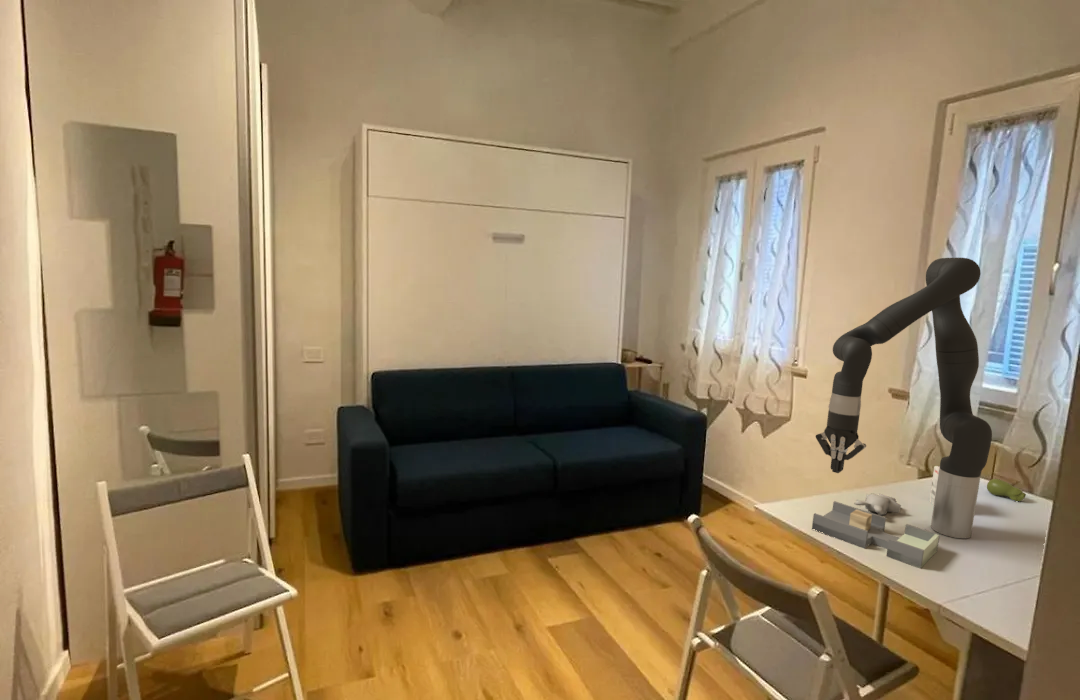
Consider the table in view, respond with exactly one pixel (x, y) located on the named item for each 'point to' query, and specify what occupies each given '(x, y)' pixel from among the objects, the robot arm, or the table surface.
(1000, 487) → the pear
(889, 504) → the bunny figurine
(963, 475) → the robot arm
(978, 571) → the table surface
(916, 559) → the trap box
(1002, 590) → the table surface
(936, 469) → the ink box
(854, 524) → the birch block
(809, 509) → the table surface
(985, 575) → the table surface
